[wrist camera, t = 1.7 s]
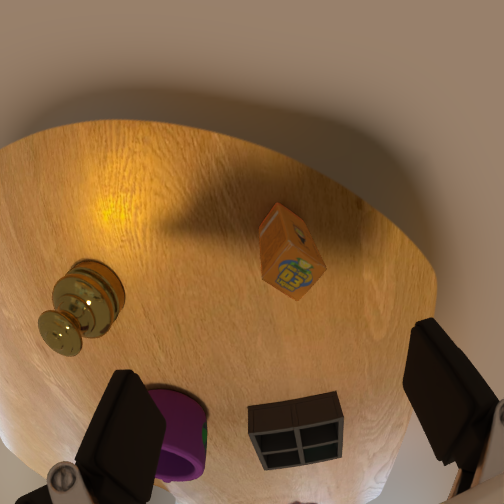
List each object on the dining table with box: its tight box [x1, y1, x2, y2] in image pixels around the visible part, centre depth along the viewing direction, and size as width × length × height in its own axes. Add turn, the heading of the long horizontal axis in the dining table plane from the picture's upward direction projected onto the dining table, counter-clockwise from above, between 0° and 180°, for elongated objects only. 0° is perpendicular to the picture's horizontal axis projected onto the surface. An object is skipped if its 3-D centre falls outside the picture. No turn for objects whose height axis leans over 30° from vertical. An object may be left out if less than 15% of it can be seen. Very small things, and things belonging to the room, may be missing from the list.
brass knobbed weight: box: [38, 261, 124, 357], centre depth 25 cm, size 7×7×10 cm
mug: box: [148, 389, 207, 483], centre depth 33 cm, size 17×11×10 cm, turn 173°
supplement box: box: [258, 202, 327, 301], centre depth 23 cm, size 3×3×10 cm
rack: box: [248, 391, 344, 470], centre depth 36 cm, size 12×12×5 cm
